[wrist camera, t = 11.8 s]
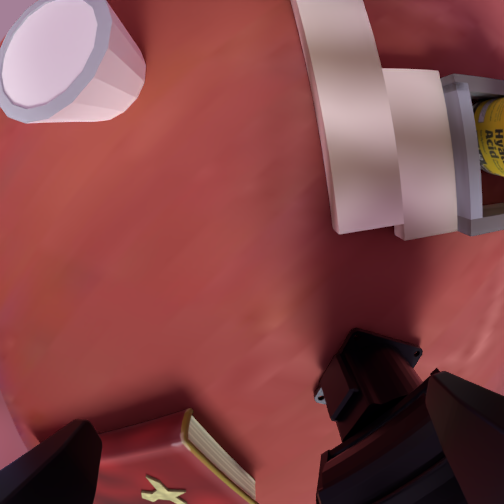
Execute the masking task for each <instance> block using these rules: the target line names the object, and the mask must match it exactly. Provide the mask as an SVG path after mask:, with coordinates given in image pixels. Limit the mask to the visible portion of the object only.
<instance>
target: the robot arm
mask: <svg viewBox="0 0 504 504" xmlns="http://www.w3.org/2000/svg"><path fill="white" fill-rule="evenodd" d="M357 334H359V336H358V337H356V338H354V336H355V335H357ZM416 351H417V353H415V352H416ZM422 352H423V351H422V349H421V348H420V347H419V346H418V345H414V344H410V343H407V342H403V341H400V340H396V339H393V338H390V337H386V336H383V335H379V334H376V333H373V332H369V331H366V330H362V329H359V328H355V329H353V330H351V331H350V333H349V334H348V336H347V338H346V340H345V342H344V344H343V345H342V347H341V349H340V351H339V353H337V354H336V355H335V356H334V357H333V359H332V361H331V363H330V365H329V366H328V368H327V370H326V371H325V373H324V375H323V377H322V378H321V380H320V385H319V387H318V388H317V390H316V392H315V393H314V399H315V401H316V402H318V403H322V404H326V405H327V409H328V412H329V415H330V418H331V420H332V421H336V423H337V427H338V430H339V433H340V437H341V440H342V443H341V444H340V445H338V446H337V447H335V448H333V449H332V450H327V451H326V452H324V453H323V454H321V462H320V470H319V478H318V486H317V493H316V504H504V396H502V395H500V394H498V393H495V392H493V391H490V390H488V389H486V388H483V387H481V386H479V385H476V384H474V383H472V382H469V381H467V380H465V379H463V378H460V377H458V376H456V375H453V374H451V373H449V372H446V371H441V372H440V371H439V370H438V369H437V368H436V369H435V370H434V371H433V372H432V373H431V374H430V375H431V376H429V377H428V378H427V379H426V380H425V381H424V382H422V380H421V379H420V377H419V376H418V374H417V373H416V372H415V370H414V369H413V368H414V366H415V365H416V363H417V362H418V360H419V358H420V357H421V355H422ZM414 353H415V354H414ZM319 396H322V397H319ZM101 454H102V440H101V438H100V437H99V435H98V433H97V432H96V430H95V428H94V427H93V425H92V424H91V422H90V421H89V420H86V419H75V420H73V421H72V422H70V423H69V424H67V425H66V426H65V427H63V428H62V429H60V430H59V431H57V432H56V433H55V434H53V435H52V436H50V437H49V438H47V439H46V440H44V441H43V442H42V443H40V444H39V445H37V446H36V447H34V448H33V449H31V450H30V451H28V452H27V453H25V454H24V455H22V456H21V457H19V458H18V459H16V460H15V461H14V462H12V463H11V464H9V465H8V466H6V467H5V468H3V469H1V470H0V504H93V502H94V498H95V494H96V488H97V482H98V474H99V467H100V460H101Z"/></svg>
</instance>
